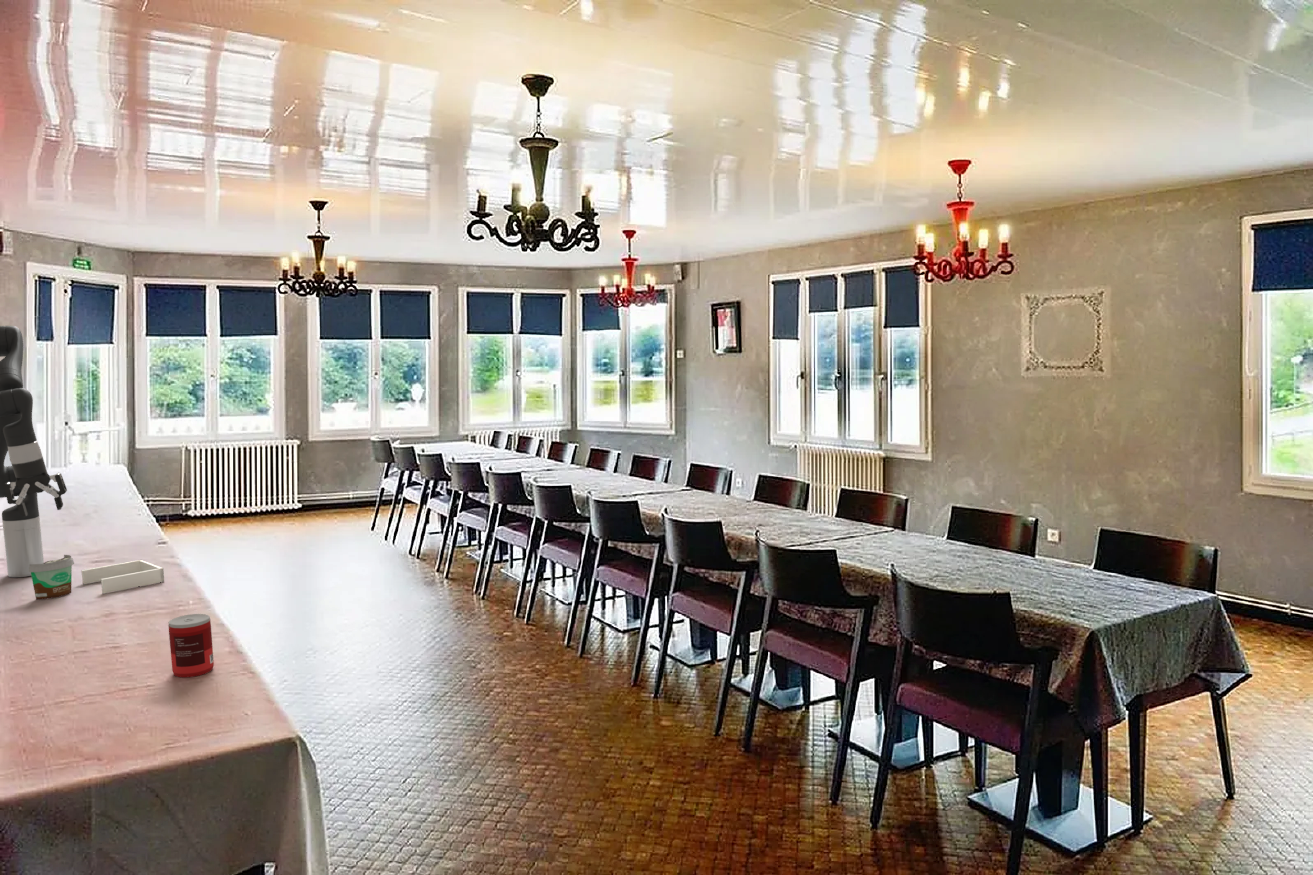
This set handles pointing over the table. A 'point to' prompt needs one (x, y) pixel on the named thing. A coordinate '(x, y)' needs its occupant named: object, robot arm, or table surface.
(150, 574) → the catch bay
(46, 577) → the food container
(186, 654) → the canned food
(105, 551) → the table surface
